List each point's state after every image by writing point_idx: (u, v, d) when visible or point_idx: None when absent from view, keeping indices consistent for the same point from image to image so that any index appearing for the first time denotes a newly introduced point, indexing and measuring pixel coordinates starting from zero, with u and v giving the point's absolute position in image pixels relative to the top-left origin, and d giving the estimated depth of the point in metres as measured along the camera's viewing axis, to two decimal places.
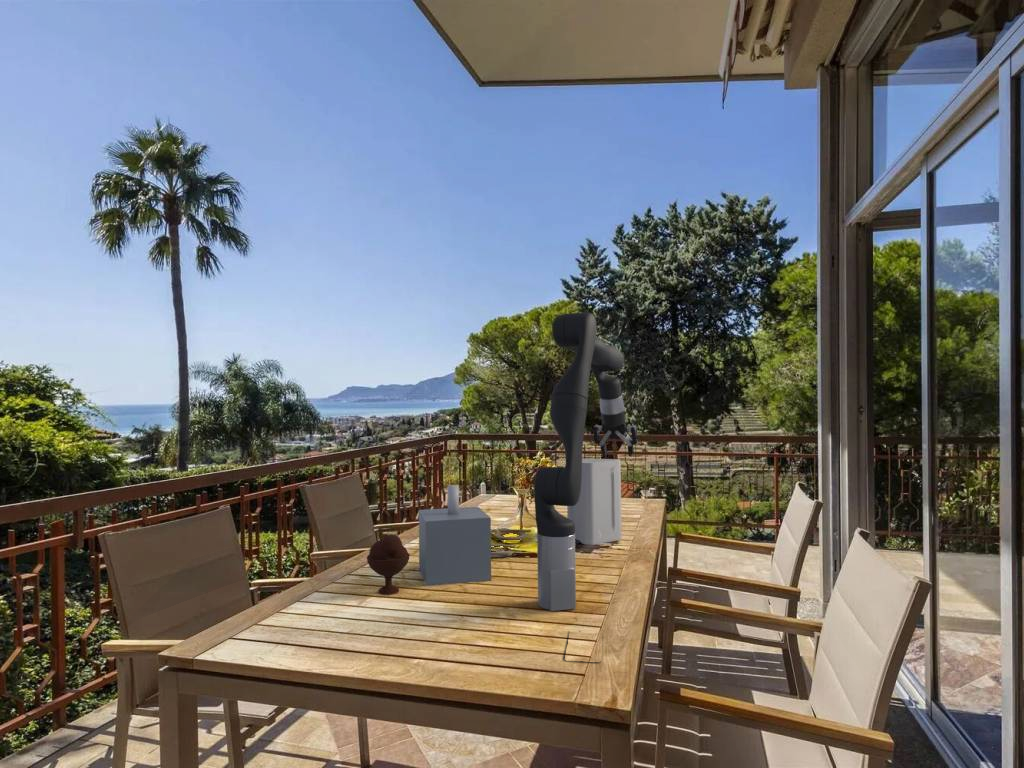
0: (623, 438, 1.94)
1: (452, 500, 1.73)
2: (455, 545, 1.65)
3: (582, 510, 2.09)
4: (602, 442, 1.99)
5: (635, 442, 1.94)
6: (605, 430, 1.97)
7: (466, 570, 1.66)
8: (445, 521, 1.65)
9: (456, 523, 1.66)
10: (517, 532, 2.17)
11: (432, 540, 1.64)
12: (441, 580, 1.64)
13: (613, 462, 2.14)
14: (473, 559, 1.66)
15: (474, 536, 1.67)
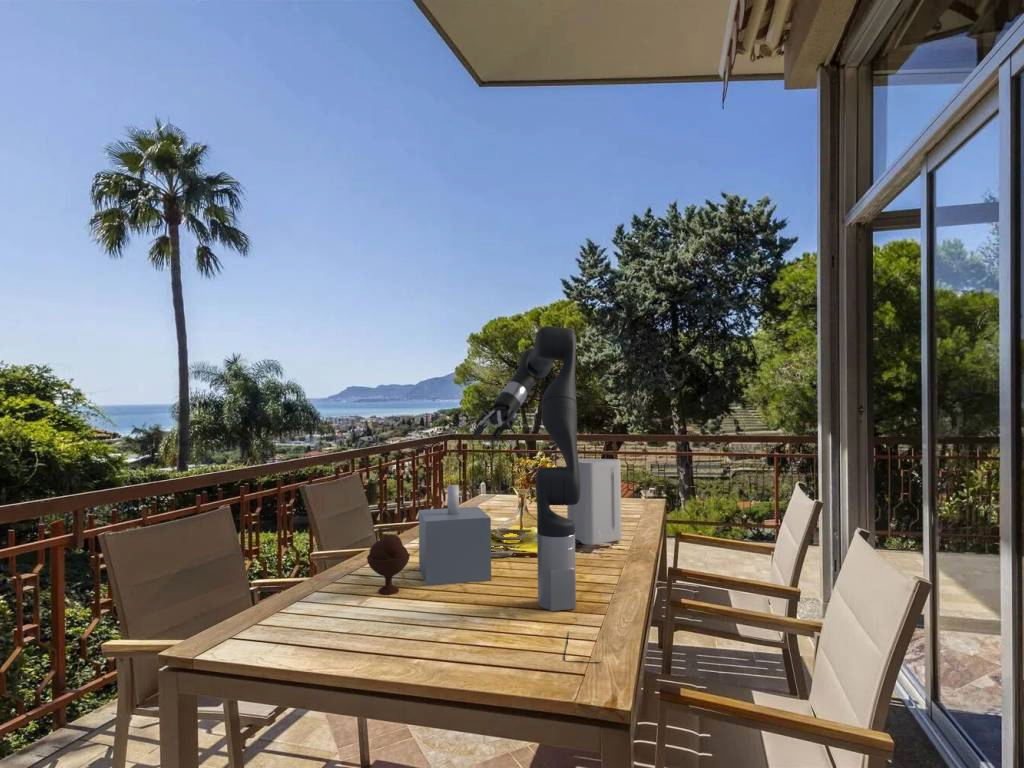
0: (499, 417, 1.84)
1: (452, 500, 1.73)
2: (455, 545, 1.65)
3: (582, 510, 2.09)
4: (481, 422, 1.89)
5: (505, 422, 1.81)
6: None
7: (466, 570, 1.66)
8: (445, 521, 1.65)
9: (456, 523, 1.66)
10: (517, 532, 2.17)
11: (432, 540, 1.64)
12: (441, 580, 1.64)
13: (613, 462, 2.14)
14: (473, 559, 1.66)
15: (474, 536, 1.67)
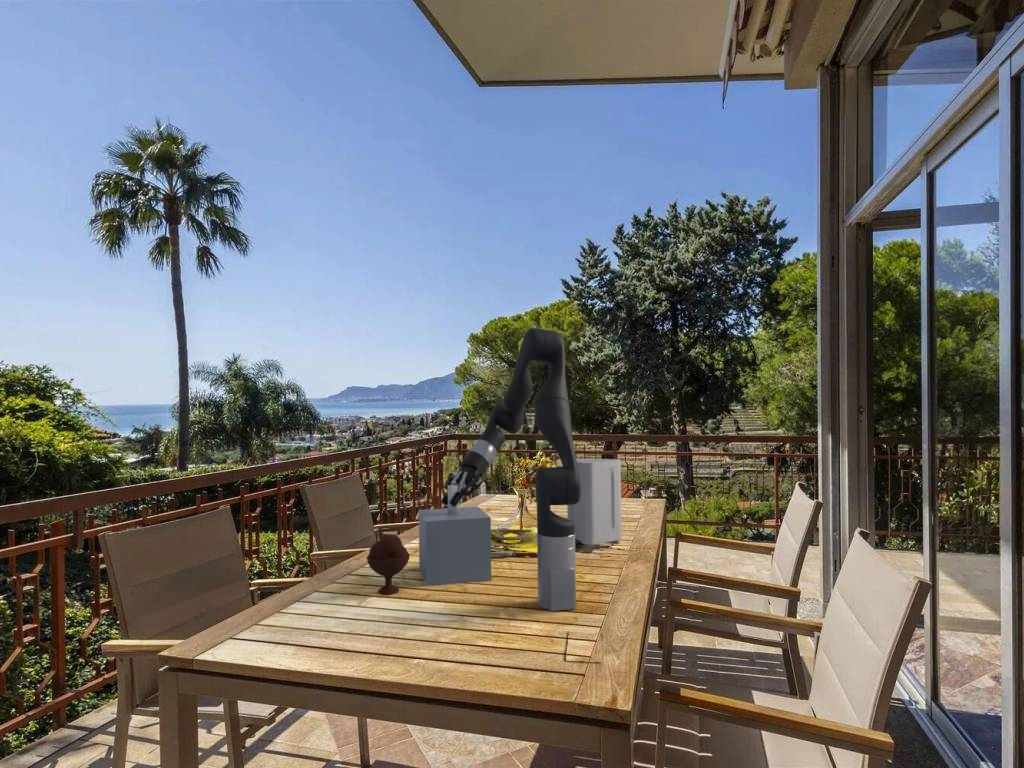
0: (462, 481, 1.75)
1: None
2: (455, 545, 1.65)
3: (582, 510, 2.09)
4: None
5: (464, 488, 1.72)
6: (459, 472, 1.80)
7: (466, 570, 1.66)
8: (445, 521, 1.65)
9: (456, 523, 1.66)
10: (517, 532, 2.17)
11: (432, 540, 1.64)
12: (441, 580, 1.64)
13: (613, 462, 2.14)
14: (473, 559, 1.66)
15: (474, 536, 1.67)
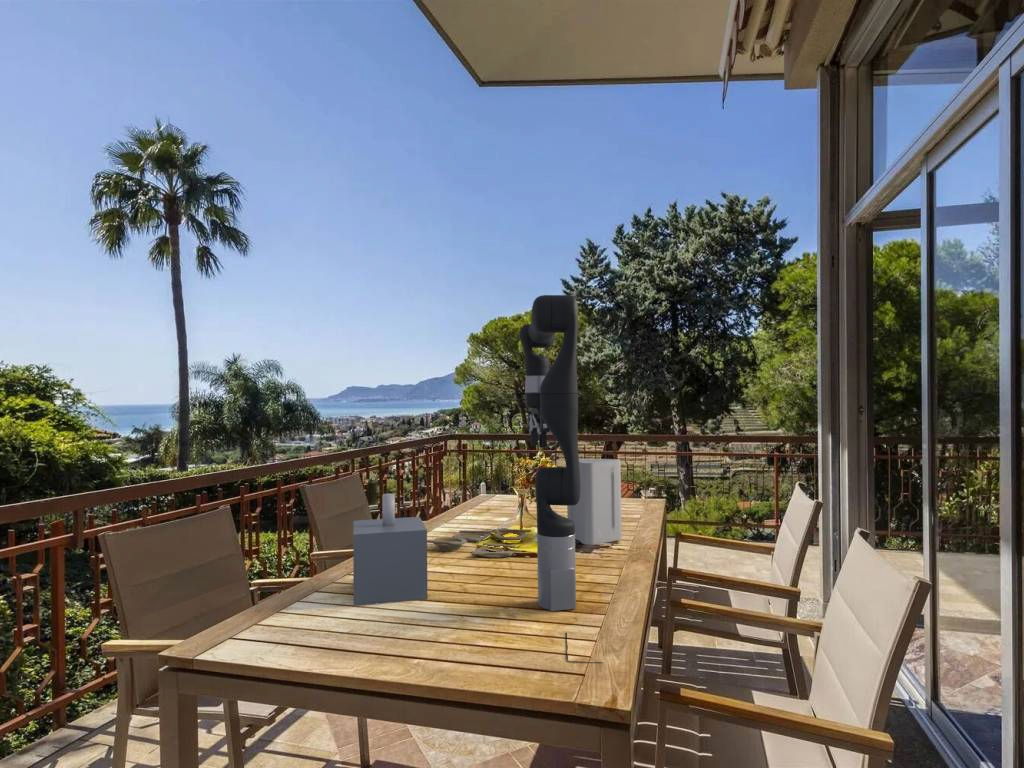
0: (535, 423, 1.75)
1: (387, 510, 1.58)
2: (387, 560, 1.50)
3: (582, 510, 2.09)
4: (530, 429, 1.82)
5: (541, 429, 1.72)
6: None
7: (399, 588, 1.51)
8: (375, 534, 1.49)
9: (388, 536, 1.50)
10: (517, 532, 2.17)
11: (361, 555, 1.48)
12: (371, 599, 1.49)
13: (613, 462, 2.14)
14: (407, 576, 1.51)
15: (409, 551, 1.51)
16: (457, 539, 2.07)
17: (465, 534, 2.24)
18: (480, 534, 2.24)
